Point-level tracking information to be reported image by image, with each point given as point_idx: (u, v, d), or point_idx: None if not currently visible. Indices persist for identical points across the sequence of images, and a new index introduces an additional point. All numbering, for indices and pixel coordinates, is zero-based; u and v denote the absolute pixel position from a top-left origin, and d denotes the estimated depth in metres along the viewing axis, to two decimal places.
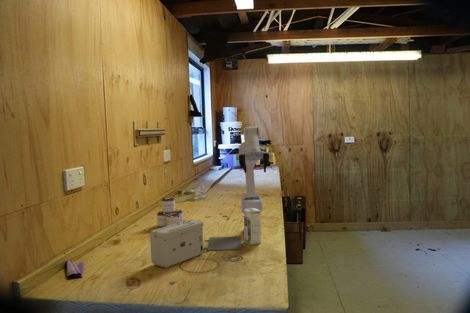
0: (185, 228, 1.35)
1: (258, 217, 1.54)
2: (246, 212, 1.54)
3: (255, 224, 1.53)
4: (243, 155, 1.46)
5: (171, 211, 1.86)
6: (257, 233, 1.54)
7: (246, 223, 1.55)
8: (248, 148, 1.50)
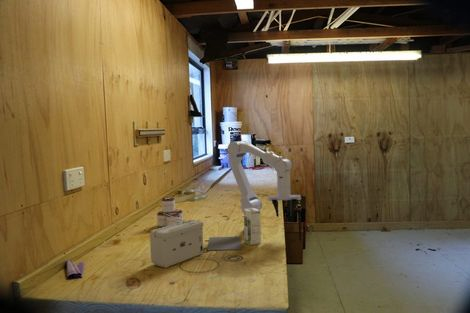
0: (185, 228, 1.35)
1: (258, 217, 1.54)
2: (246, 212, 1.54)
3: (255, 224, 1.53)
4: (276, 203, 1.60)
5: (171, 211, 1.86)
6: (257, 233, 1.54)
7: (246, 223, 1.55)
8: (280, 192, 1.60)
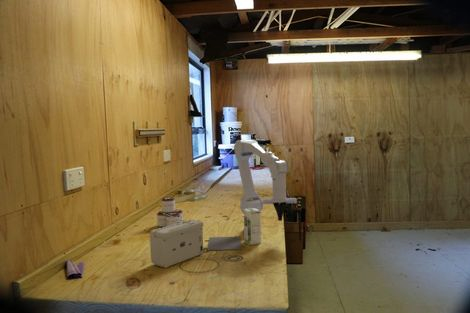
0: (185, 228, 1.35)
1: (258, 217, 1.54)
2: (246, 212, 1.54)
3: (255, 224, 1.53)
4: (278, 206, 1.53)
5: (171, 211, 1.86)
6: (257, 233, 1.54)
7: (246, 223, 1.55)
8: (275, 195, 1.53)
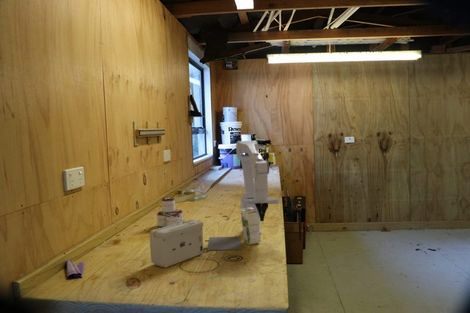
0: (185, 228, 1.35)
1: (255, 217, 1.53)
2: (243, 212, 1.54)
3: (253, 224, 1.53)
4: (260, 207, 1.53)
5: (171, 211, 1.86)
6: (256, 232, 1.54)
7: (244, 223, 1.54)
8: (256, 196, 1.53)
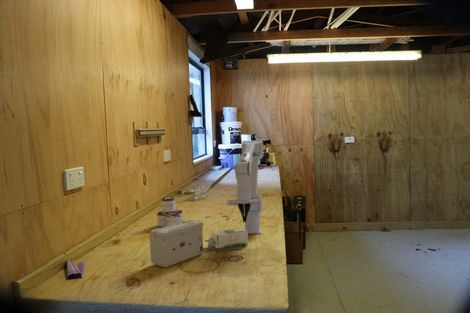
0: (185, 228, 1.35)
1: (222, 236, 1.49)
2: None
3: (229, 239, 1.50)
4: (242, 207, 1.53)
5: (171, 211, 1.86)
6: (237, 235, 1.52)
7: None
8: (239, 196, 1.53)
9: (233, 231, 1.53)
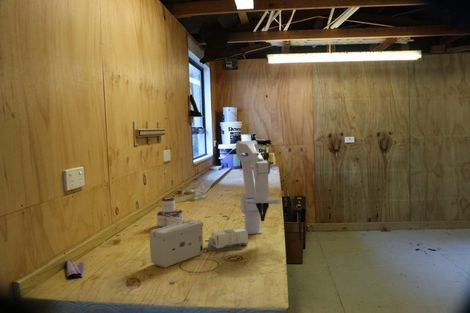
0: (184, 228, 1.35)
1: (222, 236, 1.49)
2: None
3: (229, 239, 1.50)
4: (260, 207, 1.53)
5: (171, 211, 1.86)
6: (237, 235, 1.52)
7: None
8: (257, 196, 1.53)
9: (233, 231, 1.53)
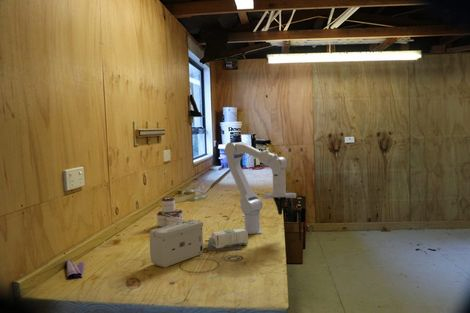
0: (184, 228, 1.35)
1: (222, 236, 1.49)
2: None
3: (229, 239, 1.50)
4: (278, 201, 1.60)
5: (171, 211, 1.86)
6: (237, 235, 1.52)
7: None
8: (275, 190, 1.60)
9: (233, 231, 1.53)
